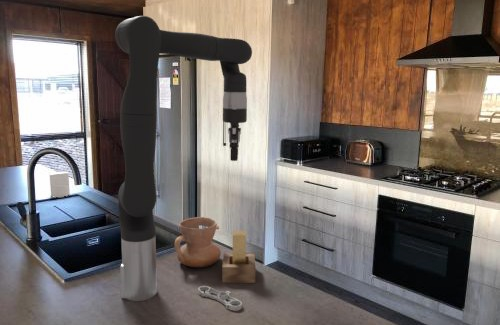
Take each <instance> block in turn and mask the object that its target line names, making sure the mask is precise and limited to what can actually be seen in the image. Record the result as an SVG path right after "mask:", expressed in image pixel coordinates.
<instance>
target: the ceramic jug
mask: <svg viewBox="0 0 500 325" xmlns="http://www.w3.org/2000/svg"><path fill="white" fill-rule="evenodd" d="M217 224H218V222H217V220H216V219H213V218H211V217H207V216H197V217H190V218H186V219H183V220H182V221H180V222H179V230H180V233H181V235H179V236H178V237H177V238H175V239H174V240H175V241H174V249H175V253H176V256H177V260H178V261H179V263H180V264H182V265H183V266H186V267H191V268H206V267H209V266H211V265H213V264H215V263H217V262H218V261H219V259H220V257H221V255H222V254H221V249H220V247H219V246H218V245H217V244H215V243H213V242H212V241H213V239H214V236H215V235H216V231H217V230H219V229H220V226H219V225H217ZM200 226H202V227H201V228H200ZM203 226H204V227H203ZM182 242H185V244H184V245H182V246H181V243H182Z"/></svg>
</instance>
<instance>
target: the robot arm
mask: <svg viewBox="0 0 500 325" xmlns="http://www.w3.org/2000/svg"><path fill="white" fill-rule="evenodd" d="M114 39H115V43H116V44H117V46H118V47H119V49H121V50H122V51H123V52H124V53H125V54H128V55H129V71H128V72H129V74H128V78H127V82H126V86H125V88H124V92H123V95H122V98H121V101H120V102H121V103H120V108H119V110H120V112H119V113H120V117H119V119H120V122H119V123H120V125H119V126H120V139H121V145H122V151H123V157H124V164H125V169H124V170H125V174H124V175H125V176H124V181H123V183H122V184H121V185H120V187H119V190H118V193H117V194H118V197H117V200H118V201H117V202H118V216H119V217H118V218H119V228H120V239H121V241H120V243H121V260H122V261H121V264H120V266H119V270H120V272H119V273H120V297H121V299H126V300H128V301H132V302H140V301H141V302H142V301H146V300H150V299H152V298H153V297H155V296H156V295H157V294H158V283H157V281H158V279H157V278H158V277H157V274H158V273H157V246H156V245H157V243H156V242H157V241H156V240H157V239H156V236H157V235H156V224H155V219H154V213H153V210H154V208H155V206H156V203H157V198H158V197H157V189H156V178H155V176H156V175H155V155H156V143H157V129H158V128H157V122H158V106H157V105H158V71H159V63H160V62H159V61H160V54H162V55H172V56H179V57H182V58H183V57H184V58H190V59H195V60H201V61H202V60H203V61H208V62H219V63H220V68H221V72H222V76H223V96H222V121H223V123H226V124H227V123H228V124H230V127H228V129H227V134H228V143H229V149H230V157H229V158H230V159H229V160H230V161H231V162H236V161H238V159H239V157H238V155H239V143H240V140H241V134H242V127H240V124H242V123H243V124H244V123H246V122H247V120H248V119H247V118H248V117H247V116H248V97H247V96H248V95H247V74H245V73H243V72H241V70H240V67H239V65H242V64H246V63H247V62H249V60H251V58H252V55H253V49H252V46H251V45H250V44H249V42H247V41H246V40H243V39H240V38H239V39H238V38H232V37H231V38H230V37H228V38H227V37H218V36H214V35H209V34H204V33H198V32H197V33H196V32H185V31H183V32H182V31H172V30H171V31H170V30H163V29H160V27H159V26H158V23H157V22H156V21H155V20H154V19H153V18H152V17H149V16H148V15H139V16H138V15H137V16H134V17H131V18H127V19H125V20H123V21H122V22H119V24H118V25H117V27H116V29H115V32H114Z"/></svg>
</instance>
